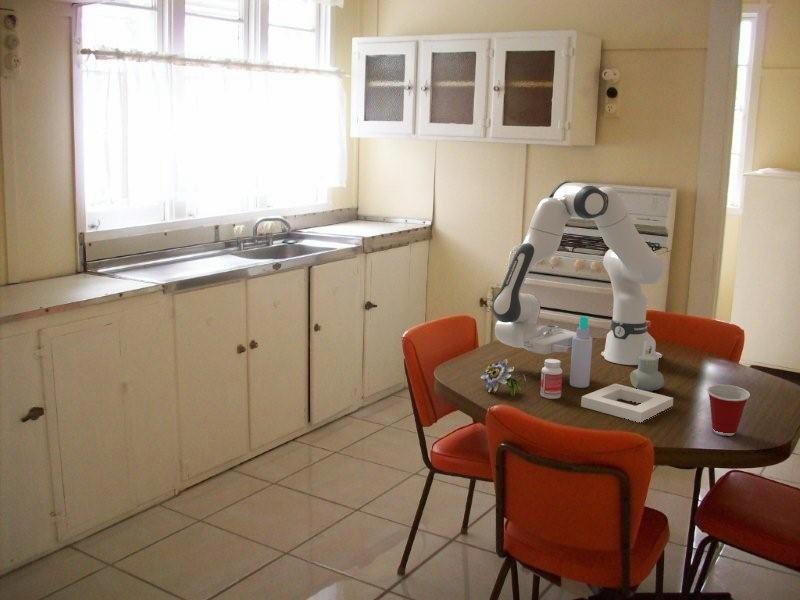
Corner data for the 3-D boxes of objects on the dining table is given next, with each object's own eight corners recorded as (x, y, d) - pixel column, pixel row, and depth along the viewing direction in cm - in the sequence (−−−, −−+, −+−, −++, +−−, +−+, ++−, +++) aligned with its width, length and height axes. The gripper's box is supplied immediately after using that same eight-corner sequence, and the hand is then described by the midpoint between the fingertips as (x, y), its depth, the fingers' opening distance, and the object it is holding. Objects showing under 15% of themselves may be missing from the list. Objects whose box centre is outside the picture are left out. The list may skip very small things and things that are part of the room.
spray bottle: (582, 389, 269) (587, 320, 265) (565, 385, 273) (570, 316, 269) (592, 385, 274) (597, 317, 269) (575, 381, 278) (580, 313, 273)
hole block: (614, 392, 267) (615, 383, 266) (672, 407, 254) (673, 397, 253) (580, 406, 253) (581, 396, 253) (640, 422, 240) (641, 412, 240)
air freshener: (665, 394, 267) (668, 362, 265) (638, 394, 266) (641, 362, 264) (652, 383, 278) (655, 353, 276) (627, 383, 277) (629, 352, 275)
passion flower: (489, 409, 265) (471, 374, 267) (514, 396, 271) (495, 362, 273) (510, 398, 256) (491, 362, 258) (535, 385, 262) (516, 350, 264)
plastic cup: (701, 436, 231) (706, 393, 229) (703, 423, 241) (707, 382, 239) (745, 443, 227) (750, 399, 225) (745, 429, 237) (750, 387, 235)
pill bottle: (565, 397, 261) (567, 361, 259) (550, 400, 258) (552, 364, 255) (550, 391, 266) (553, 356, 264) (535, 394, 263) (537, 359, 261)
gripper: (520, 334, 274) (557, 343, 264) (557, 324, 288) (593, 332, 279) (519, 354, 275) (556, 363, 266) (556, 343, 290) (592, 351, 280)
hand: (576, 347), depth 272 cm, fingers open, 8 cm apart
